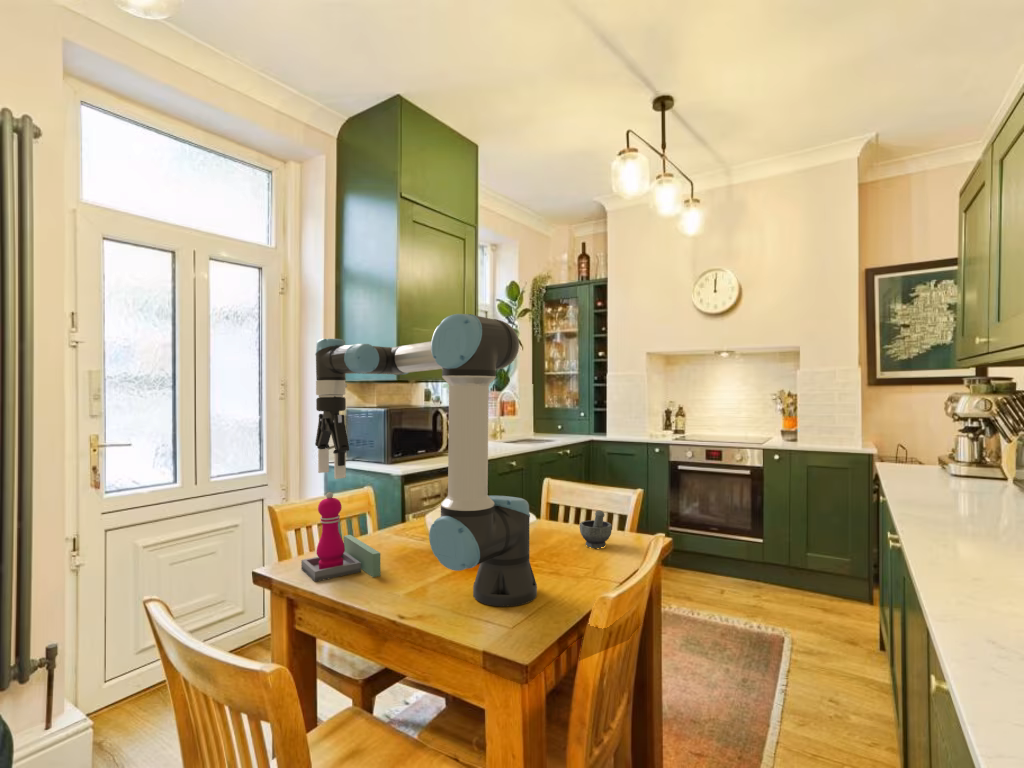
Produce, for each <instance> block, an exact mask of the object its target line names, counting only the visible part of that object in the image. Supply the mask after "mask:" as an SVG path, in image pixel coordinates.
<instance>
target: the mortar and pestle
mask: <svg viewBox="0 0 1024 768" xmlns="http://www.w3.org/2000/svg"><path fill="white" fill-rule="evenodd" d="M594 514H595V517H594V519H593V520H592V519H591V520H584V521H582V522H580V523H579V532H580V535H581V536H582V538H583V539H584V540H585V546H586V545H587V546H588V547H591V548H601V547H604V546H605V545H606V542H607V541H608V540H609V539H610V537H611V534H612V528H613V524H611V523H610V522H608V521H606V520H604V517H605V512H604V511H603V510H596V511H595V513H594ZM606 546H607V545H606Z"/></svg>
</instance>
